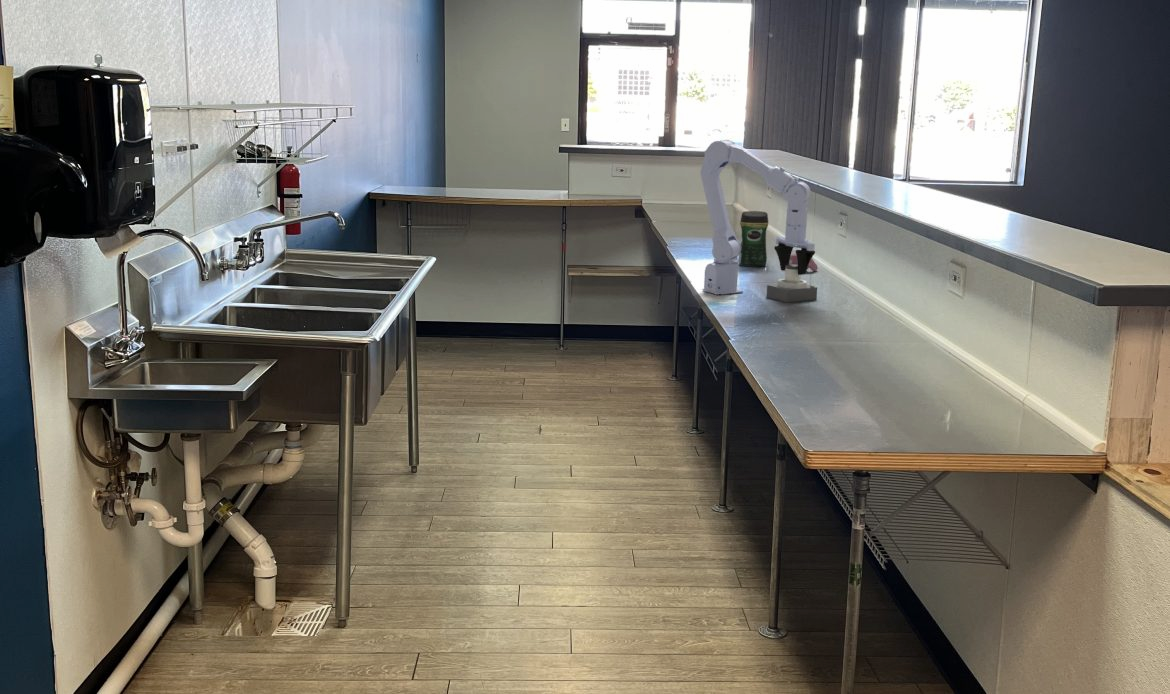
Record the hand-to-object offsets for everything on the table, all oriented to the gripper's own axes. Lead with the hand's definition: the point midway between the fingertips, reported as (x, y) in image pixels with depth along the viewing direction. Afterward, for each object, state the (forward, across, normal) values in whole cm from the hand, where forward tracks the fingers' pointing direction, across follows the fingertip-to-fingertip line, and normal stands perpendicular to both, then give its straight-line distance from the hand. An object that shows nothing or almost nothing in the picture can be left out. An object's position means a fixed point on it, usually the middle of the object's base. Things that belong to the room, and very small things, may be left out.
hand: (792, 272), depth 297 cm
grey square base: (+8, 0, 0) cm, 8 cm away
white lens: (+4, 0, 0) cm, 4 cm away
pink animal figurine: (+8, +37, -35) cm, 52 cm away
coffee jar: (+8, +52, -26) cm, 59 cm away
